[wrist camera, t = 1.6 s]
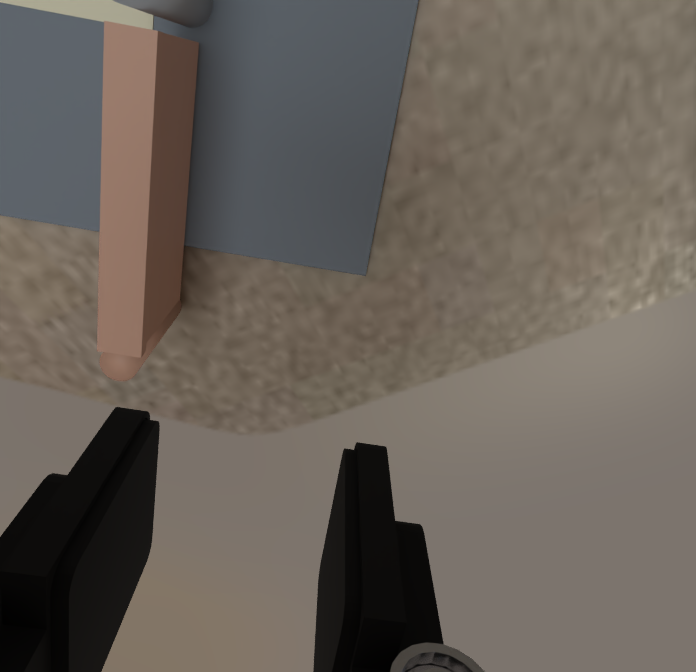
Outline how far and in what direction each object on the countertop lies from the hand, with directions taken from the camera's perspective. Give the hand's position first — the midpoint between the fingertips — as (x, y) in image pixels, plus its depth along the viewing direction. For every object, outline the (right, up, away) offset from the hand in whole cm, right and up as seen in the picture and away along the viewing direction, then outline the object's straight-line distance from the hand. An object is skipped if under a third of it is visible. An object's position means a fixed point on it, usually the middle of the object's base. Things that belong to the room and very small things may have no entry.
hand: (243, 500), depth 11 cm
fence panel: (-6, +9, +16) cm, 19 cm away
